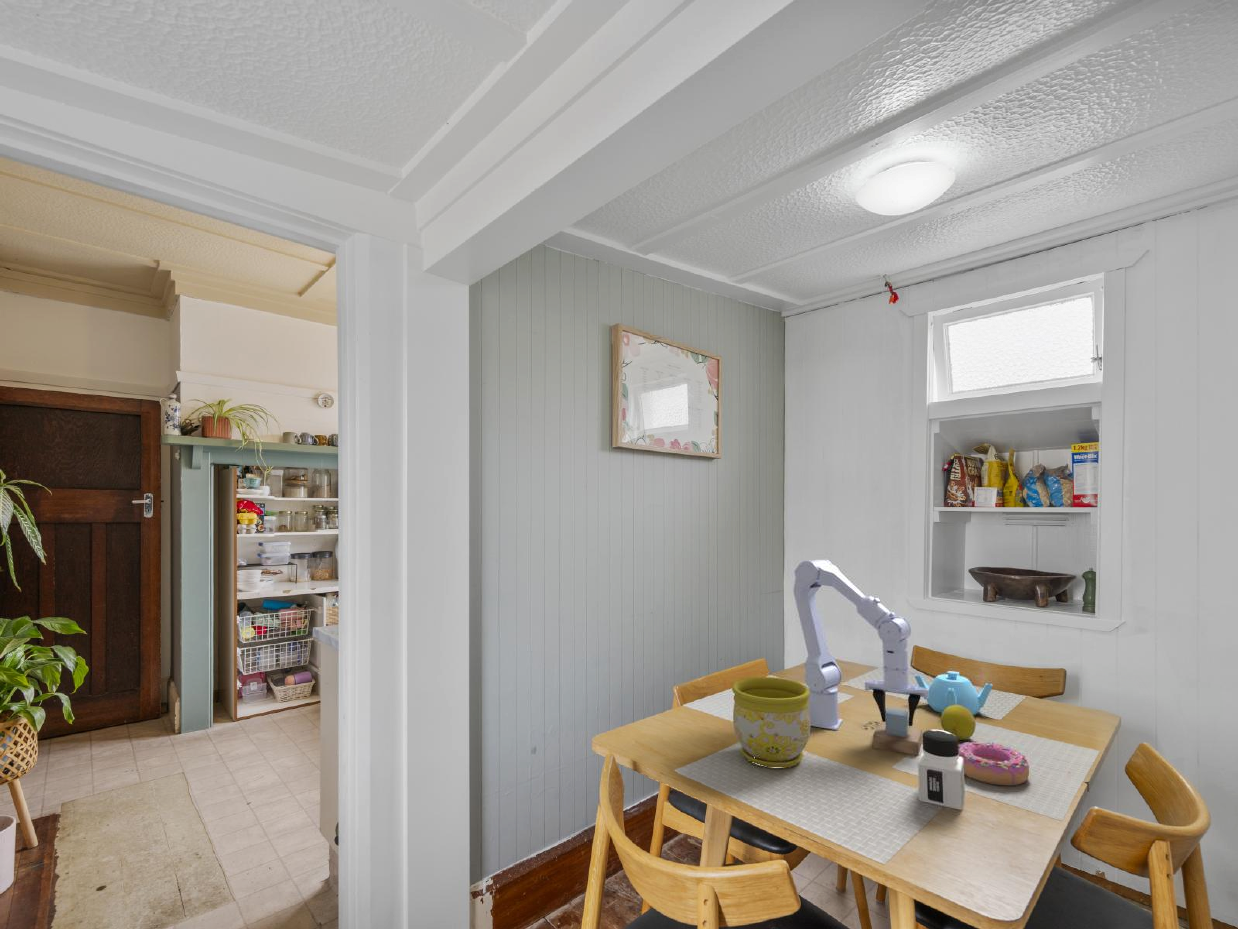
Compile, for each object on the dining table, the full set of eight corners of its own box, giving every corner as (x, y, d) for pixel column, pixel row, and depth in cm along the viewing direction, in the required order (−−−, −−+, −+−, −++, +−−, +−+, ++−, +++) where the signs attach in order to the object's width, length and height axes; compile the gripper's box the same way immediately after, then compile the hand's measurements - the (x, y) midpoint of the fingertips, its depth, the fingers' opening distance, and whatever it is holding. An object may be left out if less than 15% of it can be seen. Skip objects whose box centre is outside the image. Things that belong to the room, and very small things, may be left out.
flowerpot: (826, 771, 141) (824, 696, 142) (749, 777, 138) (748, 701, 139) (791, 740, 159) (789, 674, 160) (723, 746, 156) (721, 678, 157)
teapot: (998, 717, 175) (996, 677, 176) (951, 721, 172) (950, 681, 172) (957, 700, 190) (955, 663, 191) (913, 704, 187) (912, 667, 187)
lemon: (970, 748, 153) (969, 714, 154) (936, 740, 159) (934, 707, 159) (981, 735, 161) (980, 704, 162) (948, 728, 167) (947, 697, 167)
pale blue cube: (885, 734, 155) (885, 713, 155) (888, 727, 159) (887, 707, 159) (907, 737, 153) (906, 716, 153) (909, 731, 157) (908, 710, 157)
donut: (943, 760, 147) (942, 739, 147) (1005, 761, 146) (1004, 739, 146) (976, 789, 132) (975, 765, 133) (1045, 789, 132) (1044, 765, 132)
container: (962, 811, 123) (959, 743, 123) (918, 801, 127) (916, 735, 128) (965, 795, 129) (962, 730, 130) (923, 786, 133) (921, 723, 134)
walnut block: (873, 747, 154) (873, 735, 154) (879, 734, 163) (878, 722, 163) (918, 755, 149) (918, 742, 149) (922, 741, 158) (921, 729, 158)
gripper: (862, 667, 157) (863, 722, 156) (926, 675, 150) (928, 733, 149) (866, 661, 163) (868, 714, 163) (928, 668, 156) (930, 724, 155)
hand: (897, 722), depth 156 cm, fingers open, 5 cm apart
